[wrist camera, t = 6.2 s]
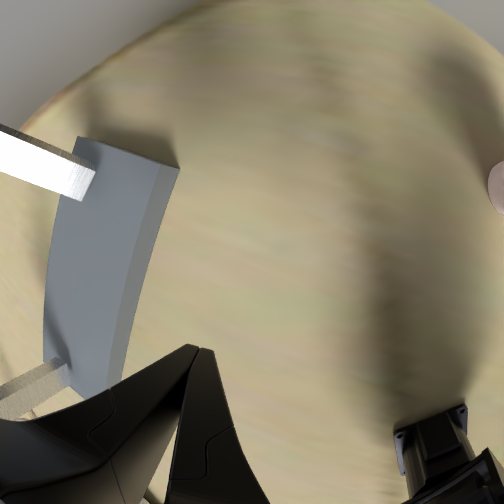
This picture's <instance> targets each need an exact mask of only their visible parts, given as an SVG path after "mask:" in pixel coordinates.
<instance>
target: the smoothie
mask: <svg viewBox="0 0 504 504" xmlns="http://www.w3.org/2000/svg"><path fill="white" fill-rule="evenodd" d="M488 193H489V197H490V200H491V202H492V204H493V206H494V207H495V209H496V210H497V211H498V212H499V213H501V214H502V215H504V161H502V162H500V163H498V164H497V165H495V166H494V167H493V168H492V170H491V171H490V174H489V177H488Z"/></svg>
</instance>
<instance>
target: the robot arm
mask: <svg viewBox="0 0 504 504" xmlns="http://www.w3.org/2000/svg"><path fill="white" fill-rule="evenodd" d="M467 418H468V408H467V406H466V404H460V405H458V406H456V407H454V408H452V409H449V410H447V411H445V412H443V413H440V414H438V415H436V416H433V417H431V418H428V419H426V420H423V421H421V422H418V423H415V424H413V425H410V426H407V427H404V428H401V429H398V430H396V431H395V432H394V434H393V436H394V441H395V446H396V452H397V457H398V463H399V469H400V475H402V476H405V475H406V481H407V487H408V494H409V500H407V501H405V502H403V503H401V504H504V469H503V467H502V465H501V464H500V463H499V461H498V460H497V459H496V457H495V456H494V455H493V453H492V452H491V451H490V449H489V448H488V447H487V448H486V449H485V450H483V451H482V453H481V454H480V455H479V456H477V457H476V456H475V453H474V451H473V449H472V447H471V445H470V442H469V440H468V438H467ZM177 425H178V428H177V434H176V439H175V445H174V450H173V456H172V462H171V468H170V474H169V482H168V486H167V492H166V497H165V501H164V504H270V502H269V500H268V499H267V497H266V495H265V494H264V492H263V490H262V488H261V486H260V485H259V483H258V481H257V479H256V477H255V475H254V473H253V472H252V470H251V468H250V466H249V464H248V462H247V460H246V457H245V455H244V453H243V451H242V448H241V445H240V442H239V440H238V437H237V433H236V430H235V427H234V424H233V420H232V417H231V414H230V410H229V407H228V403H227V399H226V396H225V392H224V389H223V385H222V381H221V377H220V374H219V370H218V366H217V362H216V358H215V354H214V351H213V350H210V349H206V348H199V347H198V346H195V345H191V344H185V345H183V346H182V347H180V348H178V349H177V350H175V351H173V352H172V353H170V354H168V355H167V356H165V357H163V358H161V359H160V360H158V361H156V362H154V363H153V364H151V365H149V366H148V367H146V368H144V369H142V370H140V371H139V372H137V373H135V374H133V375H132V376H130V377H128V378H126V379H124V380H123V381H121V382H119V383H117V384H115V385H114V386H112V387H110V389H109V388H108V389H106V390H104V391H102V392H101V393H99V394H97V395H95V396H93V397H91V398H89V399H86V400H84V401H82V402H79V403H77V404H74V405H72V406H69V407H67V408H64V409H61V410H58V411H56V412H53V413H50V414H47V415H44V416H41V417H38V418H35V419H31V420H26V421H11V420H6V419H2V418H0V504H140V502H141V500H142V498H143V496H144V494H145V492H146V490H147V488H148V486H149V483H150V481H151V479H152V477H153V475H154V473H155V471H156V469H157V467H158V465H159V463H160V461H161V459H162V456H163V454H164V452H165V450H166V448H167V446H168V444H169V442H170V440H171V438H172V436H173V434H174V431H175V429H176V427H177ZM399 434H401V435H399ZM398 435H399V436H398Z"/></svg>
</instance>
